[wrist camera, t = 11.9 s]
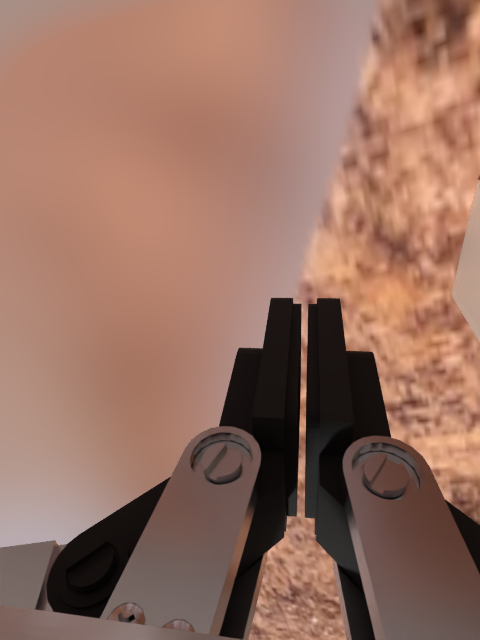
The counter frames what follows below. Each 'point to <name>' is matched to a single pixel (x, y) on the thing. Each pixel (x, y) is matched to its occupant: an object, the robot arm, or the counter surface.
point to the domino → (470, 269)
